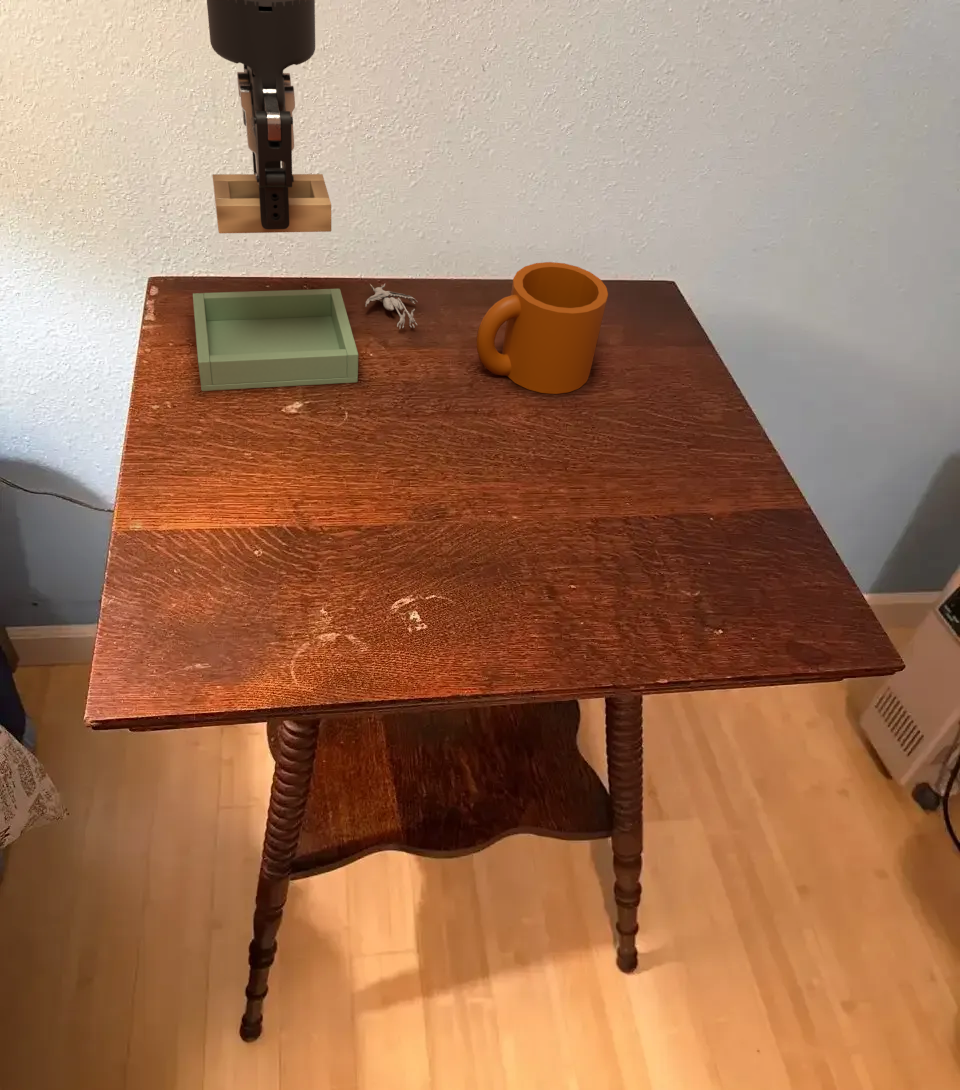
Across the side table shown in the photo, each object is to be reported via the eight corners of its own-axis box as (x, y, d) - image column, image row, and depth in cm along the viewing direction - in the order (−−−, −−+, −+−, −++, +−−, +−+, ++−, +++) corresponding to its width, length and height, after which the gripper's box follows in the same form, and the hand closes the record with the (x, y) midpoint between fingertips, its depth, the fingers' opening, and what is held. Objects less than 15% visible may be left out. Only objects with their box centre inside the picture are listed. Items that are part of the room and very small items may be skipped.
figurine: (433, 327, 95) (401, 295, 100) (436, 307, 94) (403, 276, 99) (380, 331, 93) (349, 298, 98) (382, 311, 91) (351, 279, 96)
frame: (218, 233, 76) (216, 205, 74) (215, 202, 79) (212, 174, 78) (331, 232, 78) (331, 204, 76) (322, 201, 82) (322, 173, 80)
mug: (461, 343, 94) (470, 260, 88) (576, 342, 97) (593, 261, 91) (478, 397, 88) (489, 312, 82) (600, 394, 91) (620, 311, 84)
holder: (201, 391, 84) (198, 362, 82) (195, 321, 92) (192, 293, 90) (357, 382, 88) (358, 354, 86) (339, 315, 96) (339, 288, 93)
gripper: (200, -53, 70) (219, 171, 82) (209, 11, 61) (230, 254, 72) (302, -47, 72) (307, 171, 84) (327, 15, 62) (329, 252, 74)
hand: (271, 208), depth 78 cm, fingers closed on frame, 5 cm apart
